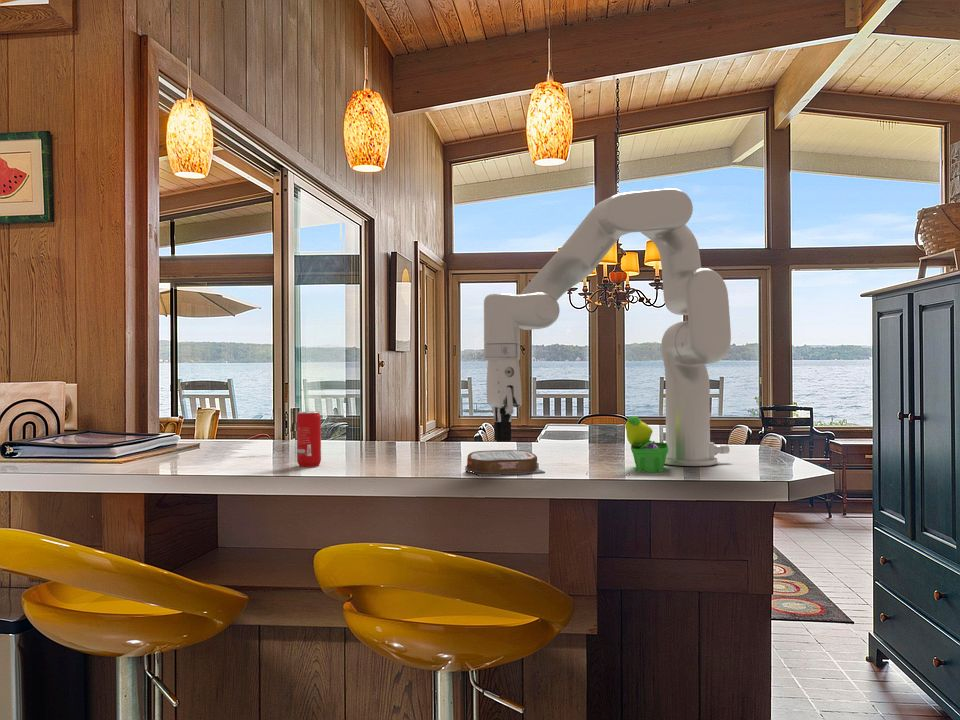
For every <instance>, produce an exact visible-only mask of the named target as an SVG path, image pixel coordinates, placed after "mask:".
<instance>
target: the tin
mask: <svg viewBox="0 0 960 720" xmlns="http://www.w3.org/2000/svg"><path fill="white" fill-rule="evenodd" d="M466 459H467V460H466V465H465V466H466V467H467V469H469V470H471V471H474V472H479V473H511V472H529V471H533V470H536V469H537V463H538V456H537V455H536V454H535V453H532V452H531V451H528V450H522V449H501V450H500V449H497V450H496V449H495V450H494V449H493V450H477V451H476V450H475V451H472V452H470V453H468V455H467V458H466Z"/></svg>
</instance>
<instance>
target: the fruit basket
mask: <svg viewBox="0 0 960 720" xmlns="http://www.w3.org/2000/svg"><path fill="white" fill-rule="evenodd" d="M624 426H625V430H626V438H627V441H628V443H629V444H630V450H631V453H632V455H633V458H634V464H635V468H636V472H637V471H647V472H646V473H663V472H664V469H665V465H666V464H665V459H666V455H667V453H668V450H669V448H668V445H667V443H666V442H655V441H654V440H651V437H652V434H653V429H652V428H651V426H649V425H648V424H647V423H646V422H644V421H643V420H641V419H640V418H639V417H638V416H637V415H632V416H629V417H627V420H626V422H625V425H624Z"/></svg>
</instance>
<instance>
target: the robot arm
mask: <svg viewBox="0 0 960 720" xmlns="http://www.w3.org/2000/svg"><path fill="white" fill-rule="evenodd" d="M693 207H694V205H693V202H692V200H691V198H690V196H689V195H688V194H687V193H686V192H685V191H683V190H680V189H679V188H663V189H662V188H661V189H653V190H651V189H649V190H641V191H629V192H622V193H616V194H614V195H611V196H610V197H608V198H605V199H603V200H602V201H600V202H598V203H597V204H595V205H594V207H593V208H592V209H591V210H590V211H589V212H588V214H587V215H586V217H585V218H584V219H583V220H582V221H581V222H580V223H579V225H578V226H577V228H576V229H575V230H574V232H573V233H572V234H571V235H570V237H568V239H567V240H566V241H565V242H564V243H563V245H562V246H561V247H560V248H559V250H558V251H557V252H556V253H555V254H554V255H553V256H552V257H551V258H550V259H549V260H548V261H547V263H546V264H544V266H543V267H542V268H541V269H540V270H539V271H538V272H537V273H536V274H535V275H534V276H533V278H532V279H531V280H530V281H529V283H527V284H526V286H525V287H524V288H523V290H522V291H521V292H520V294H513V293H507V292H506V293H501V292H499V293H492V294H487V295H486V296H485V297H484V300H483V359H484V361H487V368H486V403H487V404H488V406H490V407H491V410H492V412H493V439H494V441H495V442H498V443H500V442H501V443H502V442H511V441H512V415H513V414H514V408H520V407H521V406H522V401H523V399H522V382H521V381H522V380H521V367H520V362H519V361H520V360H521V330H525V331H532V330H543V329H546V328H549V327H550V326H552V325H553V324H555V322H556V321H557V320H558V319H559V316H560V311H561V310H560V309H561V308H560V305H559V302H558V300H560V298H561V297H562V296H563V295H564V294H565V293H566V292H568V291H569V290H570V289H571V288H573V287H574V286H576V285H578V284H580V283H581V282H582V281H584V280H585V279H586V278H588V277H589V276H590V275H591V274H592V273H593V272H594V271H595V269H596V268H597V267H598V265H599V264H600V263H601V262H602V260H603V259H604V258H605V257H606V255H607V254H608V253H609V251H610V250H611V249H612V248H613V247H614V245H615V244H616V243H617V241H618V240H619V239H620V238H621V237H622V236H624V235H627V234H630V233H632V234H633V233H641V234H642V235H644V236H645V237H646V238H648V239H649V240H650V241H651V242H652V243H653V244H654V246H655V247H656V249H657V250H658V254H659V257H660V264H661V265H660V267H661V277H662V290H663V291H662V293H663V301H664V306H665V307H666V309H667V310H668V311H669V312H670V313H671V314H675V315H679V316H687V320H684V321H678V322H676V323H674V324H672V325H670V326H669V327H668V328H667V329H666V330H665V331H664V333H663V335H662V338H661V345H660V348H661V355H662V360H663V366H664V375H665V376H664V378H665V380H664V381H665V443H667V445H668V448H669V450H668V453H667V455H666V459H665V464H664V465H669V466H680V467H706V466H713V465H714V466H715V465H717V464H718V458H717V457H715V456H717V455H718V454H724V455H725V454H729V453H730V446H729V445H728V444H719V445H717V444H715V442H713V441H712V442H711V421H710V420H711V414H710V413H711V411H710V409H711V406H710V404H711V403H710V398H711V397H710V396H711V395H710V392H711V388H710V387H711V386H710V377H709V373H708V369H707V365H708V364H709V365H710V364H716V363H718V362H720V361H722V360H723V359H724V358H725V357H726V356H727V355H728V352H729V351H730V347H731V344H732V343H731V341H732V331H731V330H732V329H731V317H730V316H731V314H730V304H729V301H730V300H729V292H728V288H727V285H726V283H725V281H724V278H723V277H722V276H721V275H720V273H718V272H717V271H715V270H713V269H710V268H705V267H704V268H703V267H702V262H701V255H700V248H699V247H700V246H699V243H698V240H697V239H696V236H695V235H694V233H693V232H692V230H691V229H690V228H689V227H688V225H687V223H688V222H689V221H690V219H691V218H692V215H693V211H694V208H693Z"/></svg>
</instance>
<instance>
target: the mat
mask: <svg viewBox="0 0 960 720" xmlns="http://www.w3.org/2000/svg"><path fill="white" fill-rule="evenodd" d="M539 465H540V463H539V462H537V469H536V470H533V471H529V472H511V473H479V472H474V471H472V472H474V473H476V474H478V475H496V476H502V475H501V474H516V475H528V474H527V473H535V474H545V473H546V471H545V470H542V469H540V467H539ZM466 466H467V465H465V466H464V468H465V469H464V472H465V471H471V470H469V469H467V467H466ZM472 472H471V473H472ZM474 473H473V474H474ZM476 474H475V475H476ZM478 475H477V476H478Z"/></svg>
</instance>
